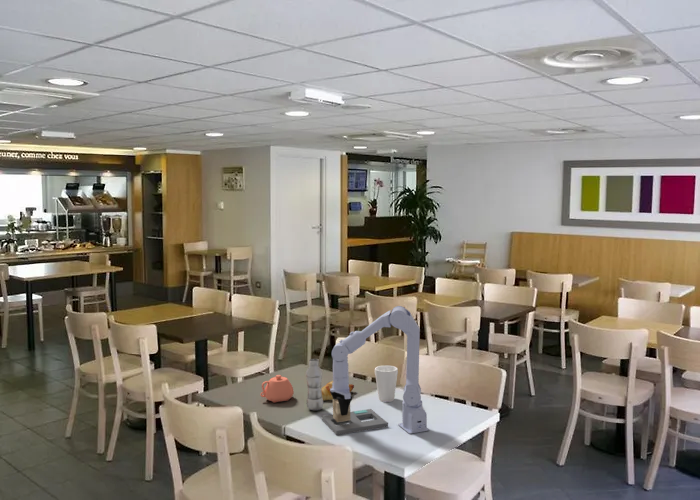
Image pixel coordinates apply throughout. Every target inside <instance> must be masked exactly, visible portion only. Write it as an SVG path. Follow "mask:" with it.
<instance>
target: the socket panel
mask: <svg viewBox="0 0 700 500" xmlns="http://www.w3.org/2000/svg"><path fill="white" fill-rule="evenodd" d="M369 418H371V419H372V420H365V421H364V420H363V419H369ZM321 420H322V422H323V423H324V424H325V425H326V426H327V427H328V428H329V429H330V431H331V432H333V434H334V435H336V436H339V435H340V436H341V435H346V434H352V433H359V432H364V431H370V430H378V429H382V428H383V429H384V428H388V427H389V423H388V422H387V421H386V420H385V419H384V418H383V417H382V416H380V415H379V414H378V413H377V412H375V411H374V409H372V408H368V409H362V410H361V409H360V410H356V411H350V420H349V421H346V422H347V423H345V424H338V425H336V424H337V423H338V422H337V421H336V420H335V419H334V418H333V414H328V415H322V416H321ZM362 420H363V421H362ZM344 422H345V421H343V422H342V423H344Z"/></svg>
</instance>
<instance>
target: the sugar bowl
mask: <svg viewBox="0 0 700 500" xmlns="http://www.w3.org/2000/svg"><path fill="white" fill-rule="evenodd" d="M265 384H266V385H265ZM261 390H262V392H260V397H261V398H265V399H266V400H267V401H270V402H272V403H273V404H274V403H276V404H277V403H279V402H289V400H290V399H291V398H292V397H293V396H294V393H295V391H294V387H293V385H292V383H291V381H290V380H289V379H288V377H285V376H282V375H281V374H276V375H275V376H274V377H271V378H270V379H269V380H265V381H263V382H262V383H261Z"/></svg>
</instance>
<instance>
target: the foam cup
mask: <svg viewBox="0 0 700 500" xmlns="http://www.w3.org/2000/svg"><path fill="white" fill-rule="evenodd" d="M398 370H399V369H398V367H396V366H394V365H378V366H376V367H375V368H374V375H375V381H376V389H377V395H378V401H380V402H384V403H389V402H394V401H395V397H396V389H397V388H396V387H397V380H398V375H399V371H398Z"/></svg>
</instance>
